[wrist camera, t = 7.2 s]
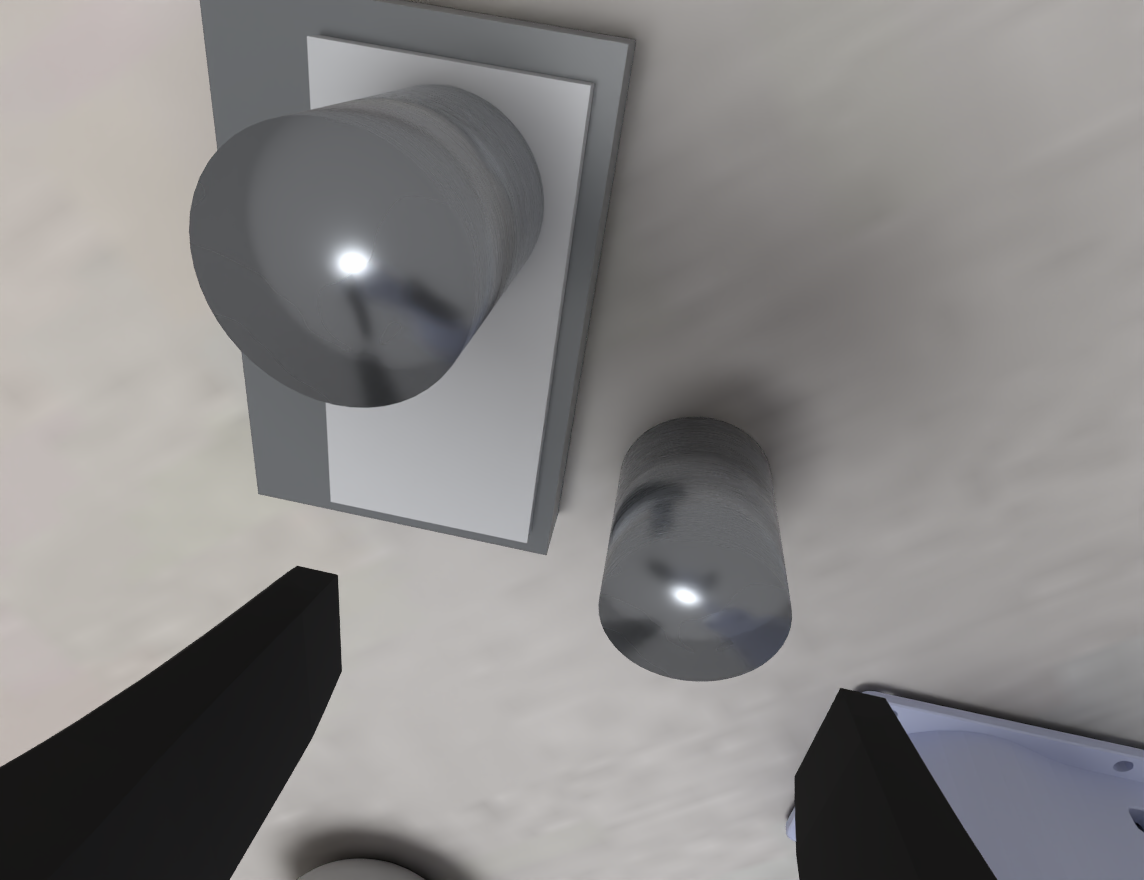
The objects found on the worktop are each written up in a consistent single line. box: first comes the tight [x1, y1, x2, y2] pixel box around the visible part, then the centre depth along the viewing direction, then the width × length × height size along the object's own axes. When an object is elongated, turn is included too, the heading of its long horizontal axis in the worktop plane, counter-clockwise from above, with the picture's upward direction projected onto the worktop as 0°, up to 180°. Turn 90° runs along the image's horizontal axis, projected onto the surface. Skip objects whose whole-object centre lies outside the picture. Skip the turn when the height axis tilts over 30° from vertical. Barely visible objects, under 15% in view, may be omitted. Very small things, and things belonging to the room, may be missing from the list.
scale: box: [200, 0, 636, 555], centre depth 17 cm, size 8×12×2 cm, turn 172°
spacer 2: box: [599, 417, 792, 681], centre depth 17 cm, size 4×4×5 cm
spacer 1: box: [189, 84, 544, 408], centre depth 12 cm, size 4×4×5 cm
